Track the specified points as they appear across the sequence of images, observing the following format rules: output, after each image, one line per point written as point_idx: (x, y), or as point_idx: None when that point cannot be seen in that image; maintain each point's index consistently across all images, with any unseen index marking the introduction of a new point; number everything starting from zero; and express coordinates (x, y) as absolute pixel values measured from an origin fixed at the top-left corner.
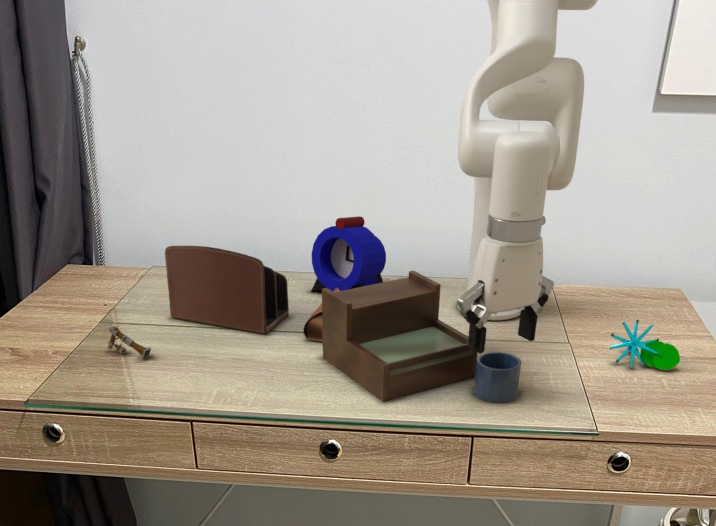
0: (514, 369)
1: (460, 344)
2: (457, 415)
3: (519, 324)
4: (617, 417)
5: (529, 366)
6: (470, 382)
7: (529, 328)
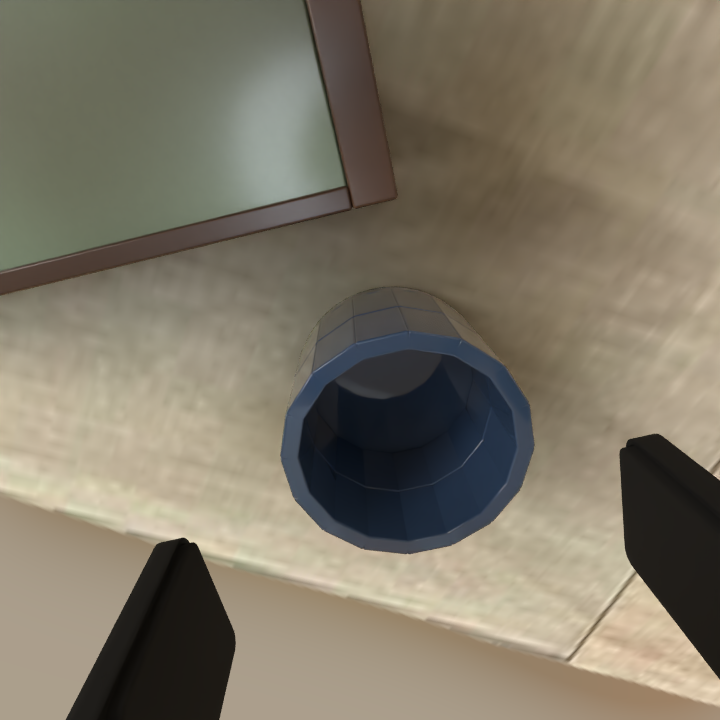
0: (437, 544)
1: (297, 94)
2: (173, 491)
3: (672, 500)
4: None
5: (695, 159)
6: (330, 244)
7: (680, 604)
